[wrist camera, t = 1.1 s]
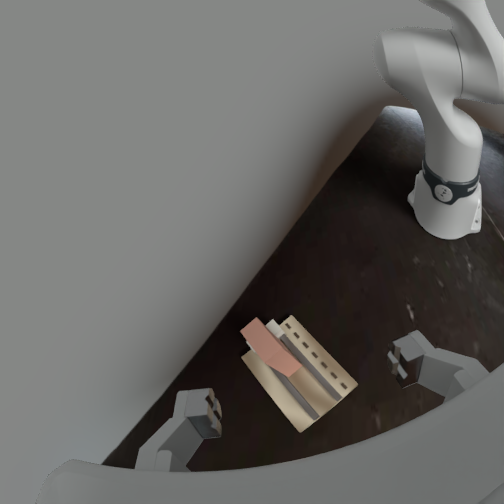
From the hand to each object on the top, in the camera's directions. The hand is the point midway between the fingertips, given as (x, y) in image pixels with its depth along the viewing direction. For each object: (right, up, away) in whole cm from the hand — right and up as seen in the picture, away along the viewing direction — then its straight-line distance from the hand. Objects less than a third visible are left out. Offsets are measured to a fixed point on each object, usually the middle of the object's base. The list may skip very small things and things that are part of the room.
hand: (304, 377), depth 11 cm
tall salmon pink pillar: (+3, -13, +33) cm, 36 cm away
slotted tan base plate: (+6, -15, +32) cm, 36 cm away
